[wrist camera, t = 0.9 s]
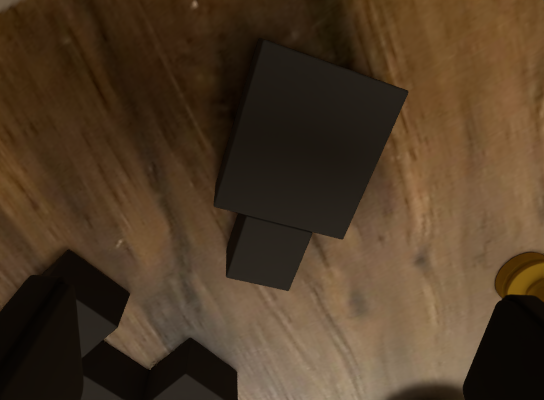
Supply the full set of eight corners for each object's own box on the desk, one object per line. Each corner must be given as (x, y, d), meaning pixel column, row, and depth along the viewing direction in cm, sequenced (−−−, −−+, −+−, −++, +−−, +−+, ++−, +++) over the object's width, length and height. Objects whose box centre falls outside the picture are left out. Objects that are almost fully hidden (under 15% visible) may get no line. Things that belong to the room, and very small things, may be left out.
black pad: (198, 242, 23) (193, 271, 21) (258, 37, 19) (263, 39, 16) (307, 268, 25) (317, 298, 22) (386, 82, 21) (410, 91, 18)
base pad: (-53, 364, 25) (-88, 405, 22) (68, 248, 23) (46, 278, 20) (122, 458, 30) (112, 501, 27) (237, 371, 28) (238, 409, 25)
